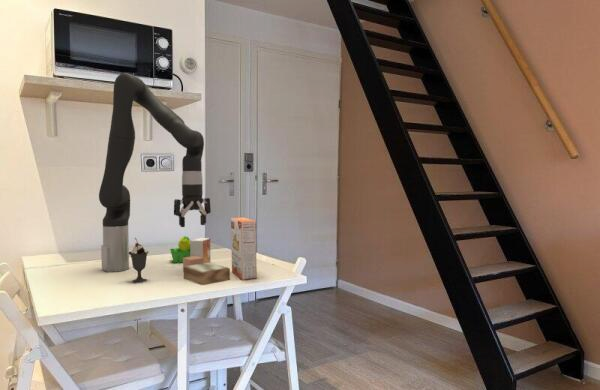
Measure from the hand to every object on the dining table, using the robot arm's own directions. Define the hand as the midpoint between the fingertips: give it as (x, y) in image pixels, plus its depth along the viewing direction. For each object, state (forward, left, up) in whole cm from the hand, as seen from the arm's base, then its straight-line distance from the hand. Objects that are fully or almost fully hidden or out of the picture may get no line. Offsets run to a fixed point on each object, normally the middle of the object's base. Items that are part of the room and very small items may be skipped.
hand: (192, 225), depth 168 cm
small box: (+9, +10, -18) cm, 22 cm away
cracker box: (+11, -18, -18) cm, 27 cm away
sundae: (-21, 0, -18) cm, 27 cm away
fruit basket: (+7, +20, -18) cm, 28 cm away
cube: (0, 0, -18) cm, 18 cm away
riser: (-2, -13, -18) cm, 22 cm away
